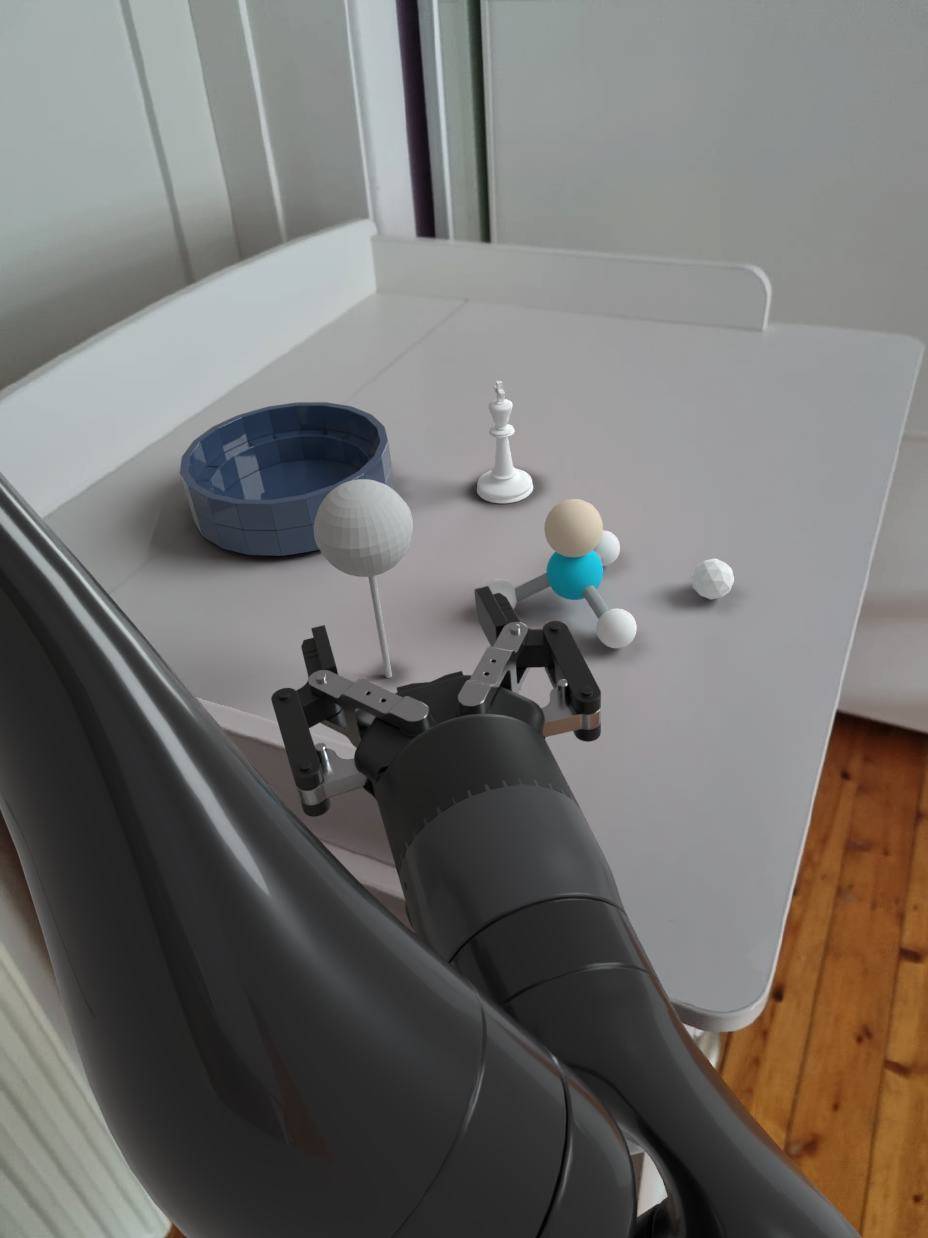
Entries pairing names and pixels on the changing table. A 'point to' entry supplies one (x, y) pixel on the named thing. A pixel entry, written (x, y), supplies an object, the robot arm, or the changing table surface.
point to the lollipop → (364, 536)
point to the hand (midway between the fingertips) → (402, 620)
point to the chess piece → (503, 458)
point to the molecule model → (577, 568)
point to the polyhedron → (712, 578)
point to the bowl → (279, 473)
